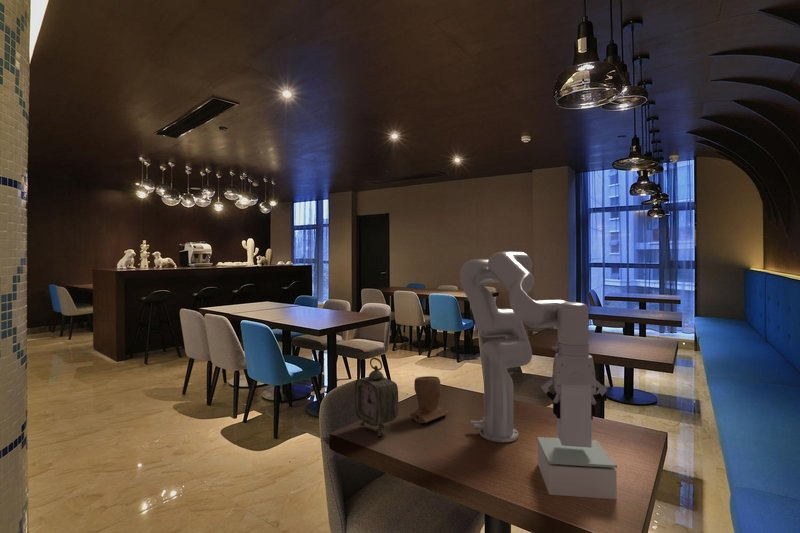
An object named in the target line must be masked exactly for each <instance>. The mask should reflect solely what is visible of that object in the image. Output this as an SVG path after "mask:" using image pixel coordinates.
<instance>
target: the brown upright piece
mask: <svg viewBox="0 0 800 533" xmlns="http://www.w3.org/2000/svg"><path fill="white" fill-rule="evenodd" d="M413 387H414V392H415V396H416V399H417V403H418V404H417V405H418V408H417V410H415V411H414V412H412V413H410V414H409V416H410V417H411V418H412V419H413V420H414V421H415V422H417V423H419V424H425V423H426V424H427V423H429V422H431V421H434V420H436V419H439V418H442V417H443V416H446V415H447V414H448V413H449V410H447V409H445V408H443V407H441V406H440V397H441V394H442V386H441V380H440V378H439V377H438V376H433V375H432V376H431V375H429V376H428V375H427V376H418V377H416V378H414V386H413Z"/></svg>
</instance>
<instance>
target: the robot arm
mask: <svg viewBox="0 0 800 533" xmlns="http://www.w3.org/2000/svg"><path fill="white" fill-rule="evenodd" d="M532 268H533V262H532V259H531V258H530V256H529V254H527V253H525V252H524V251H523V252H522V251H499V252H498V251H497V252H494V253H493V254H491V256H490V257H489V258H475V259H470V260H467V261H465V262H464V263H463V265H462V266H461V269H460V273H459V274H460V275H459V276H460V284H461V287H462V290H463V292H464V294H465V296H466V298H467V300H468V302H469V305H470V309H471V312H472V315H473V319H474V322H475V325H476V328H477V331H478V334H479V335H480V336H481V337H483V338H497V337H499V338H498V339H491V340H489V341H486V342H485V343H483V345H481V348H480V360H481V365H482V370H483V371H482V372H483V374H482V375H483V412H484V413H483V417H482V419H480V420H470V427H473V428H474V430H478V429H479V435H480V436H481V437H482V438H483V439H484V440H488V441H490V442H494V443H510V442H511V443H512V442H514V441H517V440H518V439H519V436H520V435H519V434H520V433H519V431H518V430H517V429H516V428H514V424H515V423H514V418H515V417H514V381H513V377H512V376H511V375H510V373H509V372H508V369H510V368H517V367H524V366H526V365H529V364H530V362H531V361H532V357H533V350H532V347H531V346H532V345H531V343H530V340H529V336H528V334H527V331H526V328H525V325H526V326H528V327H529V328H532V329H542V328H554V327H555V328H557V329H556V330H557V342H556V344H552V345H551V351H556V352H557V353H555V354H554V357H553V358H554V359H553V364H552V365H553V366H552V373H551V375H552V376H551V377H549V379H547V380H546V381H544V382H543V383H542V384H541V385H540V388H541V389H542V391H543V392H544V393H545V394H546V396H547V397H548V398H549V399H550V400H551V401H552V413H553V415H555V418H556V420H557V419H560V403H559V400H560V395H561V385H578V384H579V385H582V384H583V385H589V384H590V386H591V421H593V419H594V418H593V417H595V414H596V413H595V412H596V411H595V405H596V404H597V402H598V401H599V400H600V399H601V398H602V397H603V396H604V395H605V393H607V390H608V388H607V387H606V386H605V385H604V384H601V383H600V381H598V380H597V379H596V369H595V364H594V358H593V356H592V355H591V354H589V353H590V351H589V350H590V347H589V345H590V344H589V343H590V340H589V332H590V331H589V307H588V305H587V304H586V303H582V302H578V301H577V302H573V301H572V302H571V301H567V300H563V299H539V300H537V299H536V300H535V299H533V298H531V297H530V296H529V295H528V293H529V292H530V291H531V290H532V288H533V287H534V285H535V278H534V275H533V274H532V273H531V272H532ZM493 283H501V284H502V285H503V286H504V287H505V288H506V289H507V291H508V300H509V305H510V308H499V307H498V305H497V304H496V301H495V298H494V296H493V294H492V293H491V291H490V290H489V289H488V288H487V287H486V286H484V284H493ZM524 324H525V325H524ZM501 337H505V338H501ZM551 386H552V389H553V390H554V391H553V393H552V391H550V390H549V387H551ZM597 388H598V390H597Z"/></svg>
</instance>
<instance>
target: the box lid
mask: <svg viewBox="0 0 800 533" xmlns="http://www.w3.org/2000/svg"><path fill="white" fill-rule="evenodd" d="M536 439H537V443H538V442H539V444H540V446H541V449H542V451H543V453H544V455H545V457H546V460H547V462H548V464H561V465H577V466H593V467H610V468H615V469H618V465H617V464H616V462H615V461H614V460H613V459H612V457H611V456H610V455H609V454H608V452H606V450H605V449H604V448H603V446H602V445H601V444H600V443H599V441H597V439H592V447H591V448H590V447H576V446H563V445H562V444H561V442H560V440H559V437H542V436H537V438H536Z"/></svg>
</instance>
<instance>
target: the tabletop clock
mask: <svg viewBox="0 0 800 533" xmlns="http://www.w3.org/2000/svg"><path fill="white" fill-rule="evenodd" d="M373 360H375V361H378V363H379V364H380V367H379V368H378V365H374V366H373V364H372V361H373ZM369 364H370V367H371V369H373V370H372V371H371V372H370V373H369V375H368V377H363V378H358V379H356V380H355V384H354V406H355V407H354V409H355V413H356V416H357V418H359V420H361V421H362V422H360V423H359V426H360V427H361V426H364V427H365V424H367V425H369V426H373V427H377V426H378V428H379V429H378V432H377V437H379V436H381V437H382V436H383V432H382V429H381V428H383V429H384V428H385V425H384V424H387V423H390V422H393V421H395V420H396V418H397V417H398V415H399V403H400V402H399V388H398V385H397V383H396V382H395V381H393V380H391V379H388V378H387V377H384V373H382V372H381V370H382V369H383V363H382V361H381V359H380V358H378V357H371V358H370V360H369Z"/></svg>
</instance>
